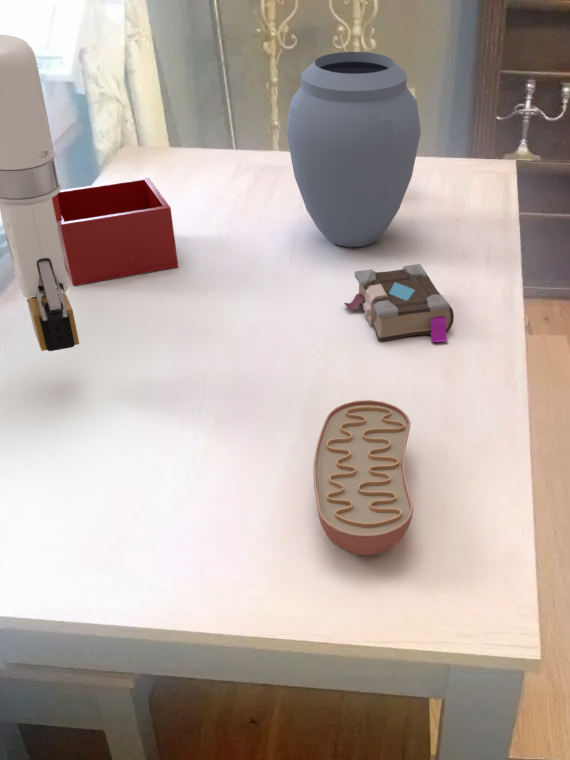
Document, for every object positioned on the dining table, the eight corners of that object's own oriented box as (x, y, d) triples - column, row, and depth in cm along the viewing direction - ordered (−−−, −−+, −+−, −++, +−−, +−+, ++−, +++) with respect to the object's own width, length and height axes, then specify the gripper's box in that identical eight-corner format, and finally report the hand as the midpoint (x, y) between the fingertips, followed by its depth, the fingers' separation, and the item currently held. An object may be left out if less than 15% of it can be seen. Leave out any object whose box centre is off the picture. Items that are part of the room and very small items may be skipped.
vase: (318, 206, 150) (315, 38, 133) (429, 223, 145) (442, 51, 128) (270, 252, 137) (260, 73, 120) (390, 273, 132) (398, 89, 115)
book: (331, 286, 129) (331, 251, 126) (412, 276, 131) (414, 242, 128) (369, 354, 116) (370, 318, 112) (458, 342, 118) (462, 306, 114)
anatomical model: (411, 576, 86) (414, 536, 82) (307, 573, 86) (306, 533, 83) (407, 438, 102) (409, 400, 99) (320, 436, 102) (319, 398, 99)
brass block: (41, 351, 104) (33, 315, 100) (35, 333, 106) (26, 298, 103) (79, 344, 105) (72, 309, 102) (72, 326, 108) (65, 292, 105)
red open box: (156, 235, 142) (148, 177, 136) (178, 267, 134) (170, 207, 127) (57, 251, 137) (44, 192, 131) (73, 286, 129) (60, 224, 123)
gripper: (-28, 152, 97) (13, 310, 110) (-5, 212, 86) (36, 379, 99) (43, 144, 99) (74, 300, 112) (73, 201, 88) (104, 366, 101)
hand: (56, 335), depth 105 cm, fingers closed on brass block, 4 cm apart
